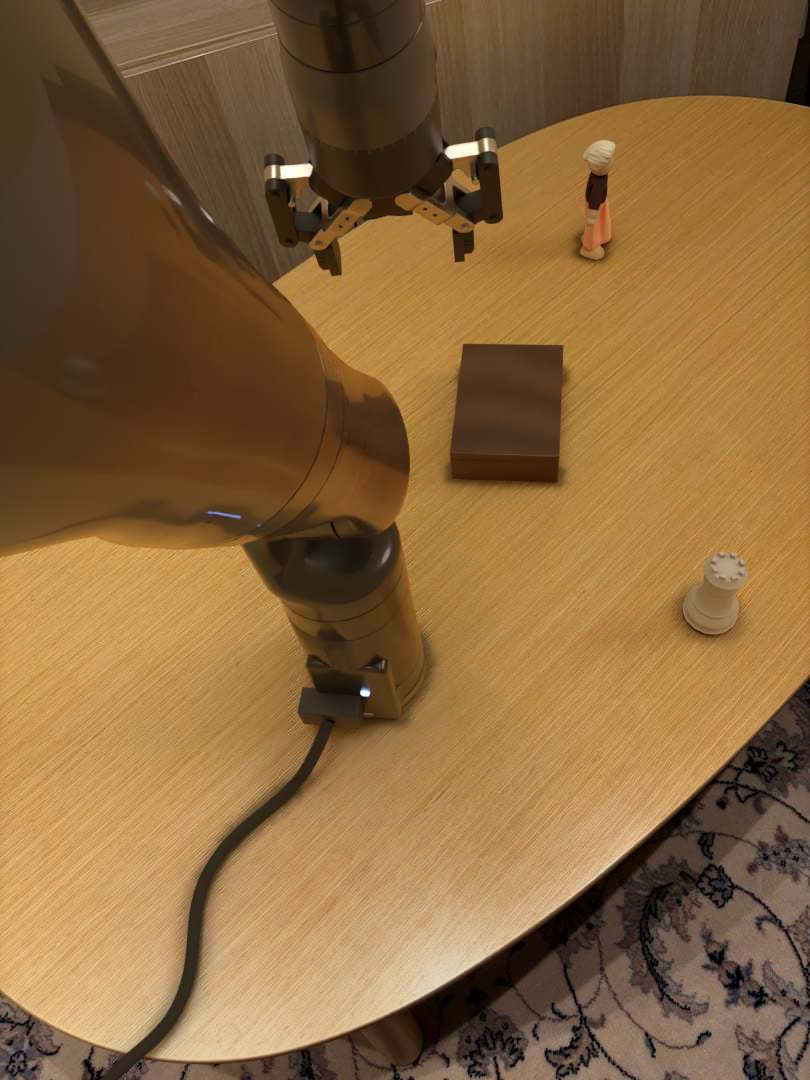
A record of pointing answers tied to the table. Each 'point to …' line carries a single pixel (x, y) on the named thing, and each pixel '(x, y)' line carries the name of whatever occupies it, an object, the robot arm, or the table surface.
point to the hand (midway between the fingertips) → (397, 257)
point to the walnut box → (508, 413)
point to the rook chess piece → (716, 594)
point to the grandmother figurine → (597, 199)
